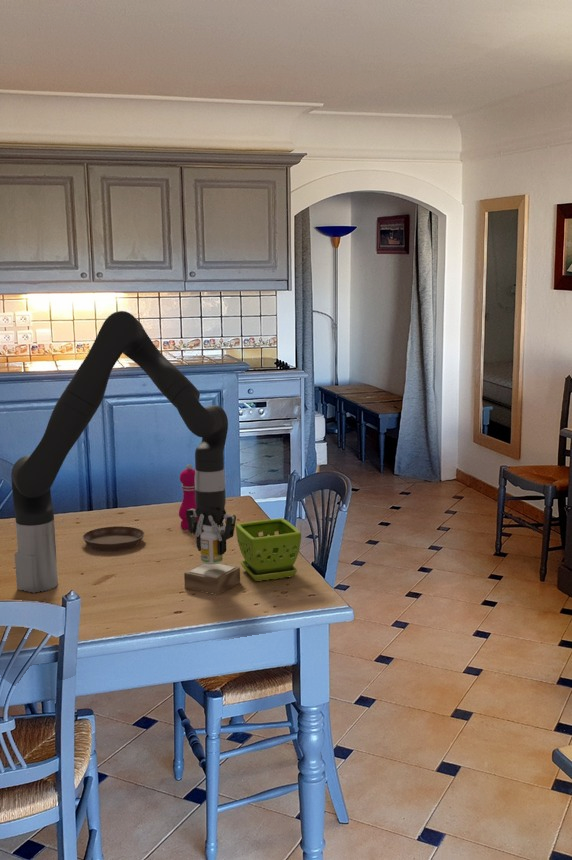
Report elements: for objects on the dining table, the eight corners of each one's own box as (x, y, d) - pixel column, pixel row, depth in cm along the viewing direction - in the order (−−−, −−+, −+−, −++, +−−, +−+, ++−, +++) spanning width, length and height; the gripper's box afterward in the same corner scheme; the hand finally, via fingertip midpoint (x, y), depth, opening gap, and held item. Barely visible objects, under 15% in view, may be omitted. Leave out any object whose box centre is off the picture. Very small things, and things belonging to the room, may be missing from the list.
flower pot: (235, 569, 230) (234, 523, 227) (284, 562, 234) (283, 517, 232) (251, 586, 217) (251, 538, 214) (303, 579, 222) (303, 531, 219)
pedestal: (217, 595, 211) (217, 578, 210) (184, 588, 216) (184, 571, 215) (240, 582, 219) (239, 566, 219) (208, 575, 224) (207, 560, 224)
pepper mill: (175, 529, 265) (173, 466, 261) (184, 522, 272) (183, 460, 268) (197, 531, 263) (195, 467, 259) (206, 524, 270) (204, 462, 266)
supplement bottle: (222, 557, 220) (222, 520, 218) (222, 564, 214) (221, 527, 212) (201, 558, 219) (200, 521, 218) (200, 565, 214) (199, 527, 212)
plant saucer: (122, 531, 264) (121, 521, 264) (156, 543, 252) (156, 533, 251) (71, 544, 252) (70, 534, 252) (105, 558, 240) (104, 547, 239)
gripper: (177, 486, 214) (179, 552, 217) (225, 493, 206) (226, 561, 210) (195, 480, 220) (197, 543, 223) (242, 486, 213) (243, 552, 216)
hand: (211, 552), depth 216 cm, fingers closed on supplement bottle, 5 cm apart
